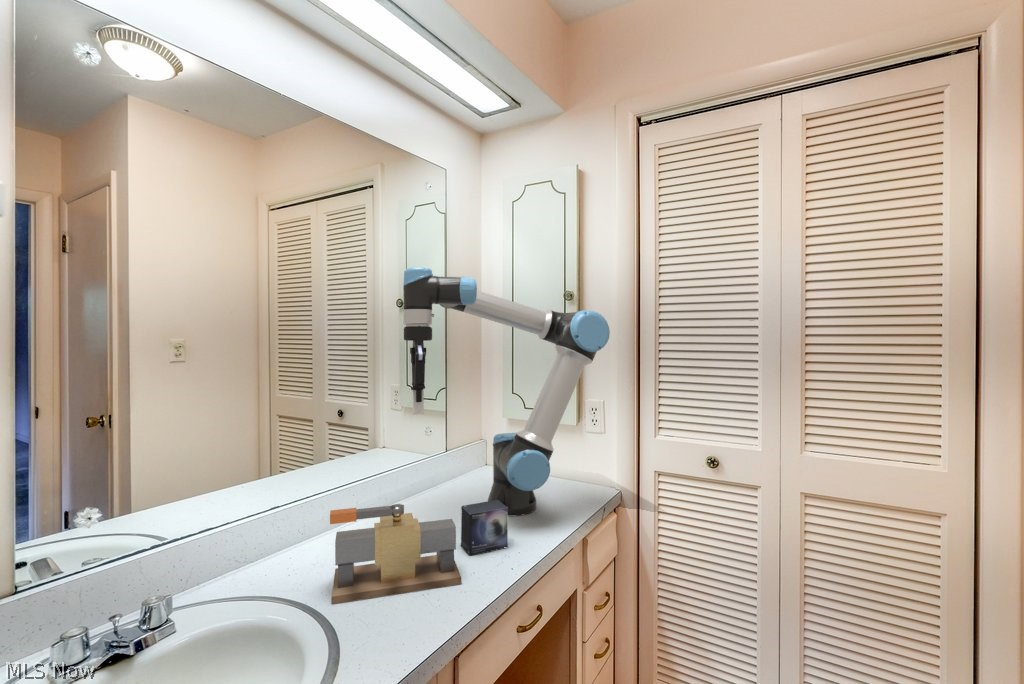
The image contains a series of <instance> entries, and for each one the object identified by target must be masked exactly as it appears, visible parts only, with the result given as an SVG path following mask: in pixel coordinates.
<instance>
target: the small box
mask: <svg viewBox="0 0 1024 684" xmlns="http://www.w3.org/2000/svg"><path fill="white" fill-rule="evenodd" d="M460 510H461V517H460V518H461V519H460V520H461V522H460V523H461V527H460V535H461V536H460V547H461V548H462V549H463V550H464V551H465V552H466V553H467V555H468V556H470V555H471V556H474V555H479V553H480V554H484V553H488V552H487V551H489V552H492V551H491V550H494V551H497V550H496V549H498V550H501V549H500V548H503V549H505V548H504V547H507V548H508V534H509V533H508V530H509V529H508V528H509V527H508V525H509V524H508V523H509V522H508V519H509V516H508V507H507V506H505V505H504V504H503V503H501V502H500V501H499V500H493V501H488V500H487V501H483V502H482V501H481V502H476V503H469V504H466V505H465V504H464V505H461V509H460ZM483 552H484V553H483Z"/></svg>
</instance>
